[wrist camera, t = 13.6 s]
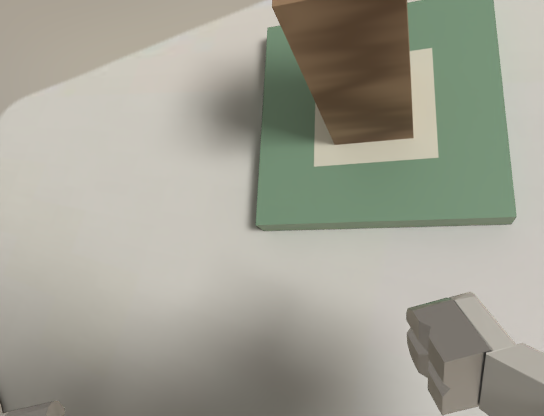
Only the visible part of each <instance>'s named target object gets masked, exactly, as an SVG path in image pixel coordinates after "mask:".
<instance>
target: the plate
mask: <svg viewBox="0 0 544 416" xmlns="http://www.w3.org/2000/svg"><path fill="white" fill-rule="evenodd" d="M407 8H408V28H409V47H410V67H411V90H412V112H413V135H414V138H410V139H398V140H387V141H375V142H364V143H353V144H341V145H334V143H333V140H332V138H331V136H330V134H329V131H328V129H327V127H326V125H325V123H324V120H323V118H322V116H321V114H320V112H319V109H318V107H317V105H316V103H315V101H314V98H313V96H312V94H311V92H310V90H309V87H308V85H307V83H306V81H305V79H304V76H303V74H302V72H301V70H300V67H299V65H298V63H297V61H296V59H295V56H294V54H293V52H292V50H291V48H290V45H289V43H288V41H287V39H286V37H285V34H284V32H283V30H282V28H281V26H275V27H269V28H268V30H267V46H266V63H265V79H264V96H263V112H262V129H261V145H260V162H259V178H258V195H257V211H256V226H258V227H259V228H260V229H262V230H263V231H280V230H317V229H354V228H390V227H427V226H464V225H501V224H512V222H513V221H514V220H515V218H516V208H515V198H514V189H513V180H512V170H511V161H510V151H509V142H508V133H507V123H506V114H505V105H504V95H503V86H502V76H501V67H500V58H499V48H498V39H497V30H496V20H495V11H494V1H493V0H421V1H415V2H410V3H407Z"/></svg>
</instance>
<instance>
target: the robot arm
mask: <svg viewBox="0 0 544 416" xmlns="http://www.w3.org/2000/svg"><path fill="white" fill-rule="evenodd" d="M406 320H407V322H408V324H409V325H410V327H411V328H410V329H409V331H408V332H407V344H408V348H409V352H410V355H411V358H412V360H413V362H414V364H415V366H416V368H417V370H418V372H419V373H420V374H422V375H424V376H425V377H427V378H428V391H429V392H430V394H431V396H432V398H433V400H434V402H435V403H436V405H437V407H438V409H439V411H440V412H441V414H442V415H445V414H449V413H453V412H457V411H461V410H466V409H470V408H474V407H478V406H479V409H481V410H482V411H483V412H485V413H486V414H488V415H489V416H544V353H543V352H540V351H538V350H536V349H534V348H532V347H530V346H528V345H526V344H523V343H521V344H517V345H516V344H515V342H514V341H513V340H512V339H511V338H510V336H509V335H508V334H507V333H506V332H505V330H504V329H503V328H502V327H501V326H500V324H499V323H498V322H497V321H496V320H495V318H494V317H493V316H492V315H491V314H490V312H489V311H488V310H487V309H486V307H485V306H484V305H483V304H482V303H481V301H480V300H479V299H478V298H477V297H476V295H475V294H473V293H471V292H468V293H464V294H460V295H457V296H453V297H449V298H444V299H440V300H437V301H433V302H429V303H426V304H422V305H418V306H415V307H411V308H408V309H407V312H406ZM64 413H65V408H64V407H63V405H62V404H61V403H60V402H59V401H53V402H48V403H44V404H40V405H35V406H31V407H27V408H22V409H18V410H14V411H10V412H6V413H3V412H2V408H1V404H0V416H64Z"/></svg>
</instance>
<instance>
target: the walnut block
mask: <svg viewBox="0 0 544 416" xmlns="http://www.w3.org/2000/svg"><path fill="white" fill-rule="evenodd" d="M272 8H273V10H274V12H275V15H276V17H277V19H278V21H279V23H280V26H281V28H282V30H283V32H284V34H285V37H286V39H287V41H288V43H289V45H290V48H291V50H292V52H293V54H294V56H295V59H296V61H297V63H298V65H299V67H300V70H301V72H302V74H303V76H304V79H305V81H306V83H307V85H308V87H309V90H310V92H311V94H312V96H313V98H314V101H315V103H316V105H317V107H318V109H319V112H320V114H321V116H322V118H323V120H324V123H325V125H326V127H327V129H328V131H329V134H330V136H331V138H332V140H333V143H334V145H341V144H353V143H364V142H375V141H387V140H398V139H410V138H414V135H413V112H412V90H411V67H410V47H409V28H408V8H407V0H272Z"/></svg>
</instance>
